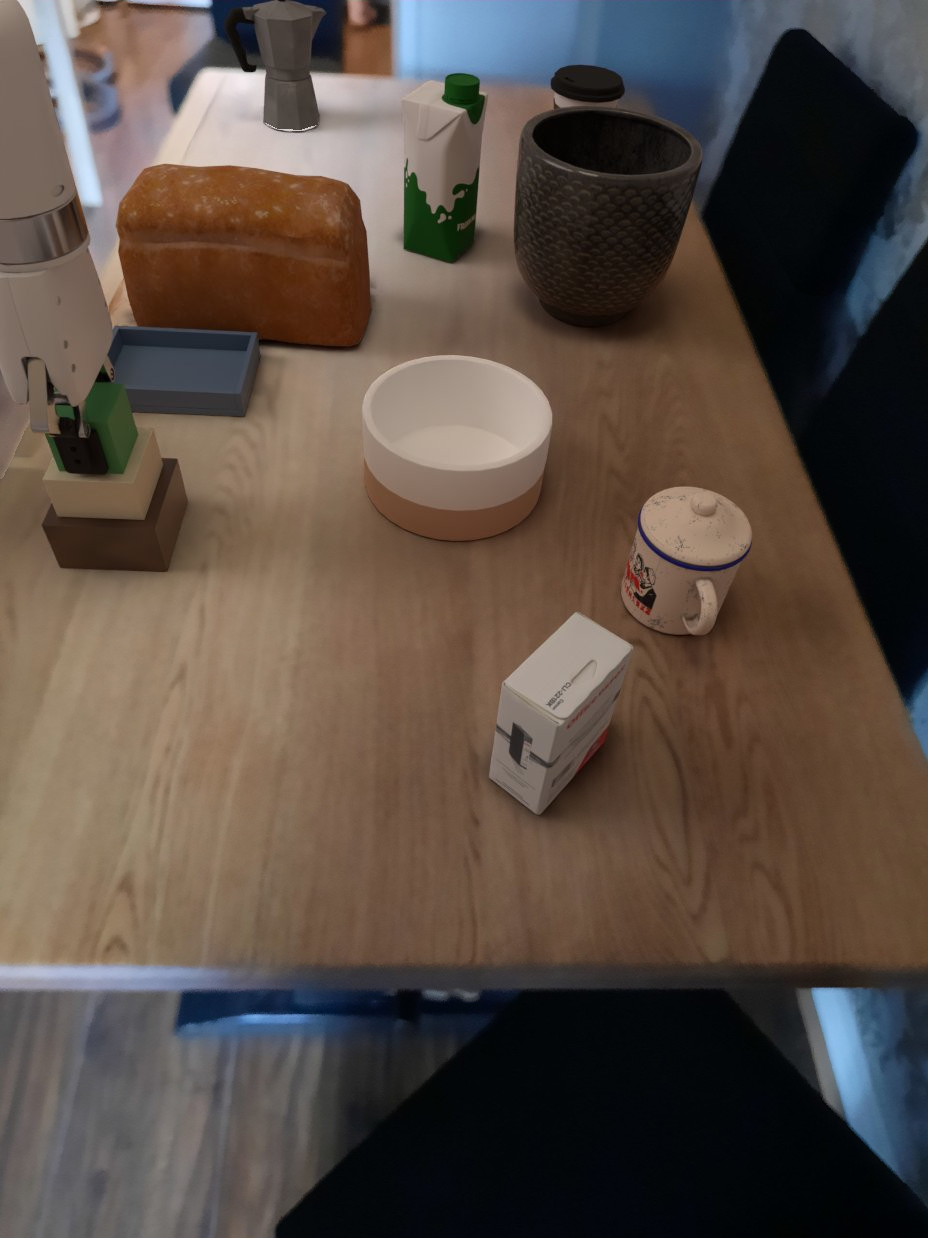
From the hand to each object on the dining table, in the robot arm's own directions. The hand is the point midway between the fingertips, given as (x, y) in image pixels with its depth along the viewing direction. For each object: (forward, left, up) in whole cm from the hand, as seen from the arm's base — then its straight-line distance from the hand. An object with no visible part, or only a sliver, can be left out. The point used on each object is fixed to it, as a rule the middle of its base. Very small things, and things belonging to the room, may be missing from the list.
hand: (97, 446), depth 68 cm
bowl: (+29, +9, -10) cm, 32 cm away
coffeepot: (+2, +94, -10) cm, 95 cm away
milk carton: (+27, +56, -10) cm, 63 cm away
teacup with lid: (+48, -7, -10) cm, 49 cm away
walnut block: (0, 0, -10) cm, 10 cm away
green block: (0, 0, -1) cm, 1 cm away
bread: (+6, +37, -10) cm, 39 cm away
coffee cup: (+48, +85, -10) cm, 98 cm away
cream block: (0, 0, -5) cm, 5 cm away
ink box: (+36, -22, -10) cm, 43 cm away
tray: (0, +23, -10) cm, 25 cm away
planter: (+45, +43, -10) cm, 63 cm away
